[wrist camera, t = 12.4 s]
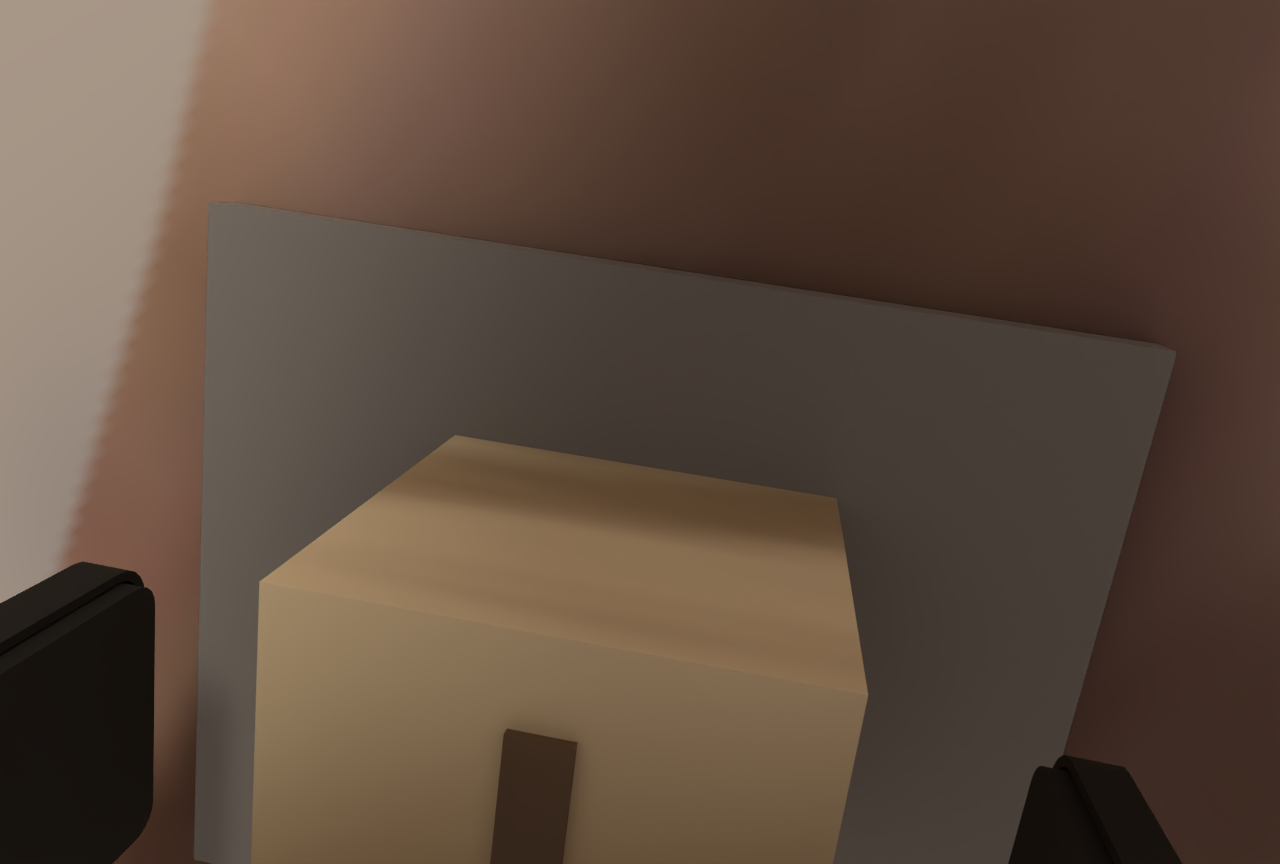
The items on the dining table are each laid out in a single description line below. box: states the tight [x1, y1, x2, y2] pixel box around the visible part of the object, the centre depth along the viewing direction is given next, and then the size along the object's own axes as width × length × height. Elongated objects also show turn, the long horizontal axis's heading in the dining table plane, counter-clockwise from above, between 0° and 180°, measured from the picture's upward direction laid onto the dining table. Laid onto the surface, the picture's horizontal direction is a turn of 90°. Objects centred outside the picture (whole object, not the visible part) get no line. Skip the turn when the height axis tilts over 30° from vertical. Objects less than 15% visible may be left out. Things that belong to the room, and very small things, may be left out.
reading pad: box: [194, 202, 1177, 864], centre depth 14 cm, size 10×12×1 cm
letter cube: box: [251, 435, 868, 864], centre depth 11 cm, size 5×5×5 cm
